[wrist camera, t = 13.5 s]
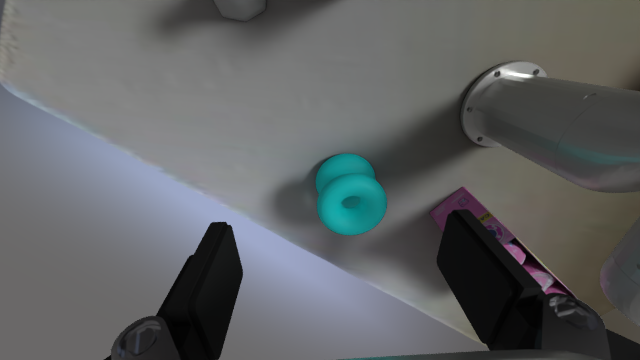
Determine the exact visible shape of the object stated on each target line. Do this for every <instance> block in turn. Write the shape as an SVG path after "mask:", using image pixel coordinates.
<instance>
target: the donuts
mask: <svg viewBox="0 0 640 360" xmlns="http://www.w3.org/2000/svg"><path fill="white" fill-rule="evenodd" d="M316 189H317V192H318V194H319V197H318V200H317V212H318V215H319V218H320V220H321V221H322V223H323V224H324V225H325V226H326V227H327V228H328V229H330V230H331V231H333V232H335V233H338V234H342V235H358V234H362V233H365V232H367V231H369V230H371V229H372V228H374V227H375V226H376V225H377V224H378V223H379V222H380V221H381V220H382V218H383V216H384V214H385V212H386V208H387V198H386V194H385V192H384V189H383V188H382V186H381V185H380V184H379V183H378V182H377V181H376V180H375V173H374V170H373V168H372V166H371V165H370V163H369V162H368V161H367V160H365V159H364V158H362V157H360V156H358V155H355V154H339V155H336V156H333V157H331V158H329V159H328V160H327V161H325V162H324V163H323V164H322V166H321V167H320V169H319V170H318V173H317V175H316Z"/></svg>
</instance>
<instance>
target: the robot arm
mask: <svg viewBox="0 0 640 360" xmlns="http://www.w3.org/2000/svg"><path fill="white" fill-rule="evenodd" d="M467 108H468V109H467ZM460 120H461V126H462V129H463V131H464V133H465V134H466V136H467V137H468V138H469V139H470V140H472V141H473V142H475V143H476V144H479V145H482V146H486V147H499V146H505V147H507V148H508V149H510V150H512V151H514V152H516V153H518V154H520V155H522V156H523V157H525V158H527V159H529V160H531V161H533V162H535V163H537V164H538V165H540V166H542V167H544V168H546V169H548V170H550V171H551V172H553V173H555V174H557V175H559V176H561V177H563V178H565V179H566V180H569V181H570V182H572V183H574V184H576V185H579V186H581V187H583V188H586V189H589V190H593V191H598V192H606V193H626V192H638V191H640V91H634V90H628V89H621V88H614V87H608V86H601V85H594V84H588V83H581V82H575V81H568V80H561V79H555V78H548V76H547V74H546V73H545V71H544V70H543V69H542V68H541V67H539V66H538V65H536V64H534V63H531V62H527V61H510V62H506V63H502V64H500V65H498V66H495V67H493V68H492V69H490V70H489V71H487V72H486V73H484V74H483V75H482V76H481V77H480V78H479V79H478V80H477V81H476V82H475V83H474V84H473V85H472V87H471V88H470V90H469V91H468V93H467V95H466V97H465V99H464V101H463V104H462V108H461V115H460ZM437 265H438V267H439V269H440V271H441V273H442V274H443V276H444V278H445V280H446V281H447V283H448V285H449V287H450V288H451V290H452V292H453V293H454V295H455V297H456V299H457V300H458V302H459V304H460V306H461V307H462V309H463V311H464V313H465V314H466V316H467V318H468V320H469V321H470V323H471V325H472V327H473V328H474V330H475V332H476V334H477V335H478V337H479V339H480V340H481V341H482V342H483V343H484V344H487V346H488V348H489V350H490V351H475V352H456V353H439V354H420V355H403V356H386V357H370V358H354V359H338V360H640V344H638V343H636V342H634V341H631V340H629V339H627V338H625V337H623V336H621V335H618V334H616V333H614V332H612V331H610V330H608V329H606V327H605V324H604V322H603V319H602V318H601V317H600V316H599V314H598V313H597V312H596V311H595V310H593V309H592V308H591V307H590V306H589V305H587V304H585V303H584V302H582V301H581V300H579V299H577V298H574V297H572V296H570V295H566V294H563V293H556V292H554V293H548V294H547V295H546V293H545V292H544V291H543V290H542V286H541V285H540V284H539V283H538V282H537V281H536V280H535V279H534V278H533V277H532V276H531V275H530V273H529V272H528V271H527V270H526V269H525V268H524V267H523V266H522V265H521V264H520V263H519V262H518V261H517V260H516V259H515V258H514V257H513V256H512V255H511V253H510V252H509V251H508V250H507V249H506V248H505V247H504V246H503V245H502V244H501V243H500V242H499V241H498V240H497V239H496V238H495V237H494V236H493V235H492V233H491V232H490V231H489V230H488V229H487V228H486V227H485V226H484V225H483V224H482V223H481V222H480V221H479V220H478V219H477V218H476V217H475V216H474V215H473V213H472V212H471V211H470V210H468V209H458V210H453V211H452V212H451V213H449V214H448V216H447V219H446V223H445V227H444V231H443V236H442V240H441V244H440V248H439V252H438V256H437ZM242 277H243V269H242V265H241V261H240V257H239V254H238V250H237V246H236V242H235V238H234V234H233V230H232V227H231V225H227V223H226V222H212V223H211V224H210V226H209V227H208V229H207V231H206V233H205V235H204V237H203V238H202V240H201V242H200V244H199V246H198V248H197V250H196V252H195V253H194V255H191V256H189V258H188V259H187V261H186V263H185V265H184V266H183V268H182V270H181V271H180V273H179V275H178V277H177V279H176V280H175V282H174V284H173V286H172V288H171V289H170V291H169V293H168V295H167V297H166V298H165V300H164V302H163V304H162V306H161V307H160V309H159V311H158V313H157V315H156V316H148V317H145V318H142V319H139V320H137V321H135V322H134V323H132V324H131V325H130V326H128V327H127V328H126V329H125V330H124V331H123V332H121V333H120V335H119V336H118V338H117V339H116V340H115V342H114V344H113V346H112V349H111V355H110V356H109V357H107V358H106V359H104V360H218V359H219V357H220V355H221V351H222V348H223V344H224V341H225V337H226V333H227V330H228V327H229V323H230V320H231V316H232V312H233V309H234V305H235V302H236V298H237V295H238V291H239V287H240V284H241V280H242ZM600 284H601V287H602V290H603V292H604V294H605V295H606V296H607V298H608V299H609V301H610V302H611V303H612V304H613V305H614V306H615V307H616V308H617V309H618V310H619V311H620V312H621V313H622V314H624V315H625V316H626V317H627V318H629V319H630V320H631V321H632V322H634V323H635V324H637V325H638V326H639V327H640V216H639V217H638V218H637V220H636V221H635V222H634V224H633V225H632V226H631V227H630V229H629V230H628V231H627V233H626V234H625V235H624V237H623V238H622V239H621V240H620V242H619V243H618V244H617V246H616V247H615V248H614V250H613V251H612V253H611V254H610V256H609V257H608V258H607V260H606V262H605V263H604V265H603V267H602V269H601V273H600Z"/></svg>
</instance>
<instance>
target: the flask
mask: <svg viewBox="0 0 640 360" xmlns="http://www.w3.org/2000/svg"><path fill="white" fill-rule="evenodd" d="M213 1H214V2H215V4H216V6H217V8H218V9H219V11H220V13H221V14H222V16H223V17H225V18H230V19H235V20H240V21H245V22H247V21H248V20H250V19H252V18H253V17H255V16H256V15H258V14H260V13H261V12H263V11H264V10H266V0H213Z"/></svg>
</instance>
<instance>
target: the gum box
mask: <svg viewBox="0 0 640 360" xmlns="http://www.w3.org/2000/svg"><path fill="white" fill-rule="evenodd" d="M458 209H468V210H470V211H471V212H472V213H473V215H474V216H475V217H476V218H477V219H478V220H479V221H480V222H481V223H482V224H483V225H484V226H485V227H486V228H487V229H488V230H489V231H490V232H491V233H492V235H493V236H494V237H495V238H496V239H497V240H498V241H499V242H500V243H501V244H502V245H503V246H504V247H505V248H506V249H507V250H508V251H509V252H510V253H511V255H512V256H513V257H514V258H515V259H516V260H517V261H518V262H519V263H520V264H521V265H522V266H523V267H524V268H525V269H526V270H527V271H528V272H529V273H530V275H531V276H532V277H533V278H534V279H535V280H536V281H537V282H538V283H539V284H540V285H541V286H542V290H543V291H544V292H545V293H546V295H547V294H548V293H554V292H556V293H563V294H566V295H570V296H572V297H574V298H577V297H576V296H575V295H574V294H573V293H572V292H571V291H570V290H569V289H568V288H567V287H566V286H565V285H564V284H563V283H562V282H561V281H560V280H559V279H558V278H557V277H556V276H555V275H554V274H553V273H552V272H551V271H550V269H549V268H548V267H547V266H546V265H545V264H544V263H543V262H542V261H541V260H539V259H538V258H537V257H536V256H535V255H534V254H533V253H532V252H531V251H530V250H529V249H528V248H527V247H526V246H525V245H524V244H523V243H522V242H521V241H520V240H519V239H518V238H517V237H516V236H515V235H514V234H513V233H512V232H511V231H510V230H509V229H508V228H507V227H505V226H504V225H503V224H502V223H501V222H500V221H499V220H498V219H497V218H496V217H495V216H494V215H493V214H492V213H491V212H490V211H489V210H488V209H487V208H485V207H484V206H483V205H482V204H481V203H480V202H479V201H478V200H477V199H476V198H475V197H474V196H473V195H472V194H471V193H470V192H469V191H468V190H467V189H466V188H465V187H462V188H460V189H459V190H458V191H457V192H455V193H454V194H453V195H451V196H450V197H449V198H447V199H446V200H445V201H443V202H442V203H441V204H440V205H439V206H438V207H436V208H435V209H434V210H432V211H431V212H430V214H431V216H432V217H433V219H434V220H435V222H436V223H437V224H438V226H439V227H440V229H441V230H442V232H443V231H444V227H445V223H446V219H447V216H448V214H449V213H451V212H452V211H453V210H458Z"/></svg>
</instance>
